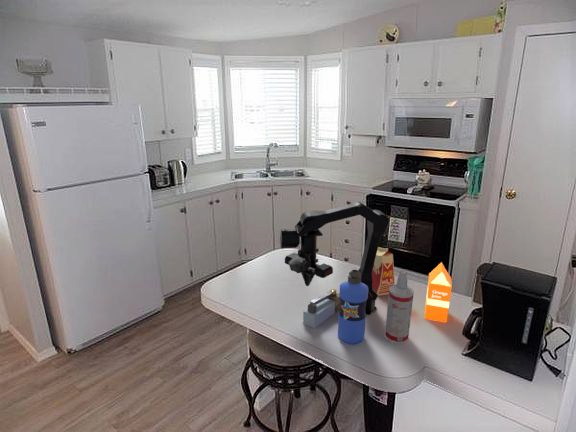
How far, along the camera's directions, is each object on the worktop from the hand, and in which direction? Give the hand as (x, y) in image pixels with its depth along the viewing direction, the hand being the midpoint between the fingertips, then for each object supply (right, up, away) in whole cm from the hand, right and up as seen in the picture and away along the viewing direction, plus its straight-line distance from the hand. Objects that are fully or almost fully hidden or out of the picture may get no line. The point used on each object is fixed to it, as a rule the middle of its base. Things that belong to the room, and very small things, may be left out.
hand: (307, 285), depth 140 cm
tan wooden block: (+10, -10, +7) cm, 16 cm away
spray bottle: (+30, -16, -11) cm, 36 cm away
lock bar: (+6, -5, +1) cm, 8 cm away
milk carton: (+32, -6, +21) cm, 39 cm away
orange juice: (+49, -12, +3) cm, 50 cm away
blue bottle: (+14, -16, -11) cm, 24 cm away
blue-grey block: (+4, -12, 0) cm, 13 cm away
